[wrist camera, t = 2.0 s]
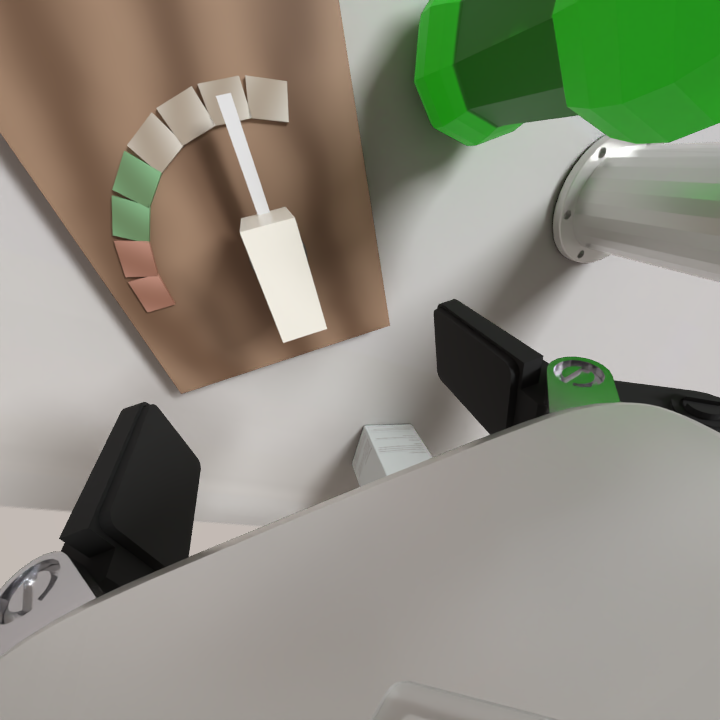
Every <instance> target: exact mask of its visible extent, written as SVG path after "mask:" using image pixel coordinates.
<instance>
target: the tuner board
mask: <svg viewBox="0 0 720 720" xmlns="http://www.w3.org/2000/svg"><path fill="white" fill-rule="evenodd" d="M227 93H231V95H232V98H233V101H234V104H235V107H236V110H237V113H238V116H239V120H240V123H241V126H242V129H243V132H244V135H245V138H246V141H247V144H248V147H249V150H250V153H251V156H252V159H253V162H254V165H255V168H256V171H257V174H258V177H259V180H260V183H261V186H262V189H263V192H264V195H265V198H266V201H267V204H268V207H269V210H270V211H271V210H275V209H279V208H282V207H286V208H287V209H288V210H289V211H290V212H291V214H292V215H293V216H294V217H295V220H296V223H297V227H298V230H299V234H300V237H301V241H302V244H303V247H304V251H305V254H306V258H307V261H308V265H309V268H310V272H311V275H312V278H313V282H314V285H315V289H316V292H317V296H318V299H319V302H320V306H321V309H322V313H323V316H324V320H325V323H326V327H327V329H325V330H322V331H319V332H316V333H313V334H310V335H307V336H303V337H300V338H297V339H294V340H291V341H288V342H285V343H283V341H282V338H281V336H280V333H279V331H278V328H277V326H276V323H275V321H274V318H273V316H272V313H271V310H270V308H269V305H268V303H267V300H266V298H265V295H264V293H263V290H262V288H261V285H260V283H259V280H258V278H257V275H256V272H255V270H254V267H253V265H252V262H251V260H250V257H249V255H248V252H247V250H246V247H245V245H244V242H243V240H242V237H241V235H240V224H241V218H244V217H248V216H252V215H256V214H257V211H256V209H255V206H254V203H253V200H252V197H251V194H250V192H249V189H248V186H247V183H246V180H245V177H244V175H243V172H242V169H241V166H240V163H239V160H238V158H237V155H236V152H235V149H234V146H233V143H232V141H231V138H230V135H229V132H228V129H227V126H226V124H225V121H224V118H223V115H222V112H221V109H220V107H219V104H218V101H217V98H216V96H218V95H223V94H227ZM0 133H1V134H2V136H3V137H4V139H5V140H6V142H7V143H8V145H9V146H10V147H11V149H12V150H13V152H14V153H15V155H16V156H17V158H18V159H19V160H20V162H21V163H22V165H23V166H24V168H25V169H26V171H27V172H28V173H29V175H30V176H31V178H32V179H33V181H34V182H35V184H36V185H37V186H38V188H39V189H40V191H41V192H42V194H43V195H44V197H45V198H46V199H47V201H48V202H49V204H50V205H51V207H52V208H53V209H54V211H55V212H56V214H57V215H58V217H59V218H60V220H61V221H62V222H63V224H64V225H65V227H66V228H67V230H68V231H69V233H70V234H71V235H72V237H73V238H74V240H75V241H76V243H77V244H78V246H79V247H80V248H81V250H82V251H83V253H84V254H85V256H86V257H87V259H88V260H89V261H90V263H91V264H92V266H93V267H94V269H95V270H96V272H97V273H98V274H99V276H100V277H101V279H102V280H103V282H104V283H105V285H106V286H107V287H108V289H109V290H110V292H111V293H112V295H113V296H114V297H115V299H116V300H117V302H118V303H119V305H120V306H121V308H122V309H123V310H124V312H125V313H126V315H127V316H128V318H129V319H130V321H131V322H132V323H133V325H134V326H135V328H136V329H137V331H138V332H139V334H140V335H141V336H142V338H143V339H144V341H145V342H146V344H147V345H148V347H149V348H150V349H151V351H152V352H153V354H154V355H155V357H156V358H157V360H158V361H159V362H160V364H161V365H162V367H163V368H164V370H165V371H166V373H167V374H168V375H169V377H170V378H171V380H172V381H173V383H174V384H175V385H176V387H177V388H178V390H179V391H180V393H181V394H183V393H186V392H189V391H192V390H195V389H198V388H201V387H204V386H207V385H210V384H213V383H216V382H219V381H222V380H225V379H228V378H231V377H234V376H237V375H241V374H244V373H247V372H250V371H253V370H256V369H259V368H262V367H265V366H268V365H271V364H274V363H277V362H280V361H283V360H286V359H289V358H292V357H295V356H298V355H301V354H304V353H308V352H311V351H314V350H317V349H320V348H323V347H326V346H329V345H332V344H335V343H338V342H341V341H344V340H347V339H350V338H353V337H356V336H359V335H362V334H365V333H368V332H371V331H375V330H378V329H381V328H384V327H387V326H390V323H389V317H388V310H387V304H386V297H385V291H384V285H383V278H382V272H381V266H380V259H379V253H378V247H377V240H376V234H375V228H374V221H373V215H372V209H371V202H370V196H369V190H368V183H367V177H366V171H365V164H364V158H363V151H362V145H361V139H360V132H359V126H358V120H357V113H356V107H355V101H354V94H353V88H352V82H351V75H350V69H349V63H348V56H347V50H346V44H345V37H344V31H343V25H342V18H341V12H340V5H339V0H0Z"/></svg>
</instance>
